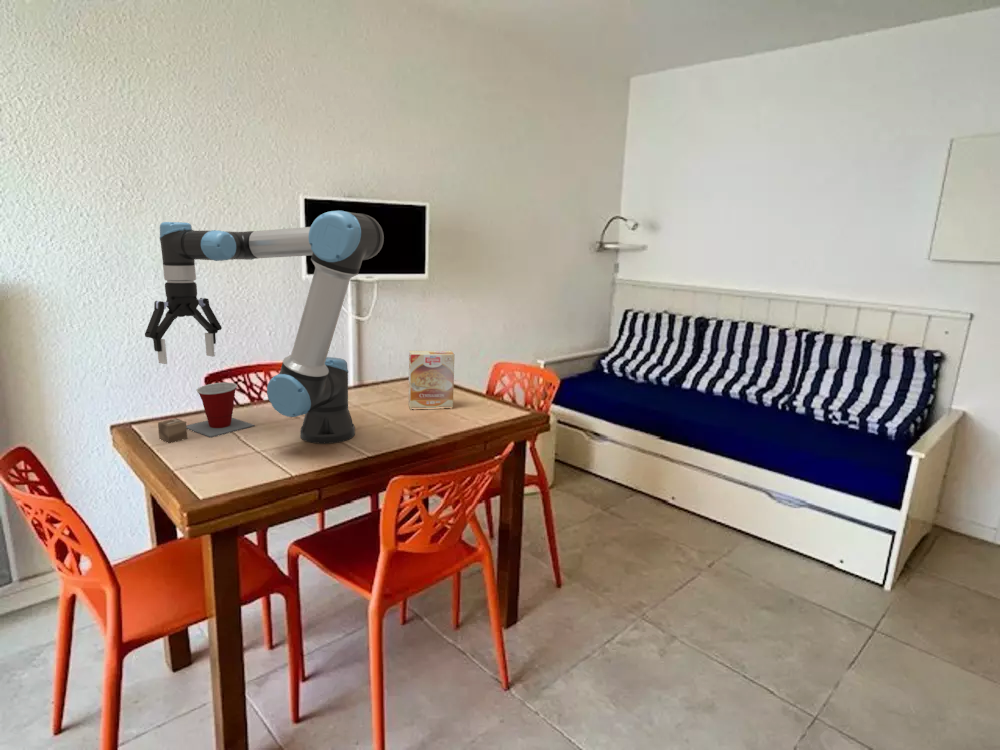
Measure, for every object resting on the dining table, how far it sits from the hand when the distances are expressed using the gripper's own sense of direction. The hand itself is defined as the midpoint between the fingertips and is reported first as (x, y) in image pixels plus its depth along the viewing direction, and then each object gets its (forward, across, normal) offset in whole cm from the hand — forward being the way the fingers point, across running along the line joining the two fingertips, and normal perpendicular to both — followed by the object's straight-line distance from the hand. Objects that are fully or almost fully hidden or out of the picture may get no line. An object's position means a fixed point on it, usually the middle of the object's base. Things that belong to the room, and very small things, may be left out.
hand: (187, 359), depth 162 cm
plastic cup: (+22, -9, -1) cm, 23 cm away
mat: (+22, -8, -1) cm, 23 cm away
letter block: (+22, +5, -1) cm, 22 cm away
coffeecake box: (+23, -65, +34) cm, 77 cm away
